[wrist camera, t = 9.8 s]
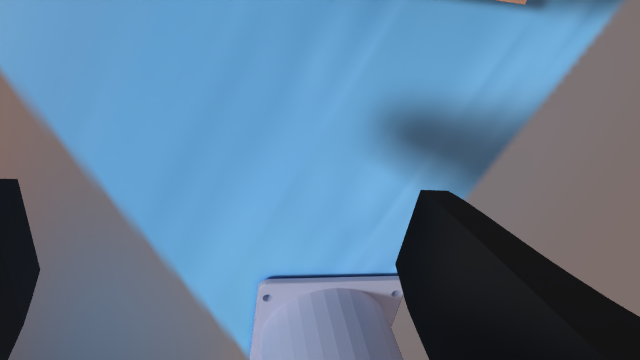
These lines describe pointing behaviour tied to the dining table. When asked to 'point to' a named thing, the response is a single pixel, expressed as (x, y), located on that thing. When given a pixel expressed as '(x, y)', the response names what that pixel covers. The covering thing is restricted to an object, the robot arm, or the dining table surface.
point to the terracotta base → (515, 1)
